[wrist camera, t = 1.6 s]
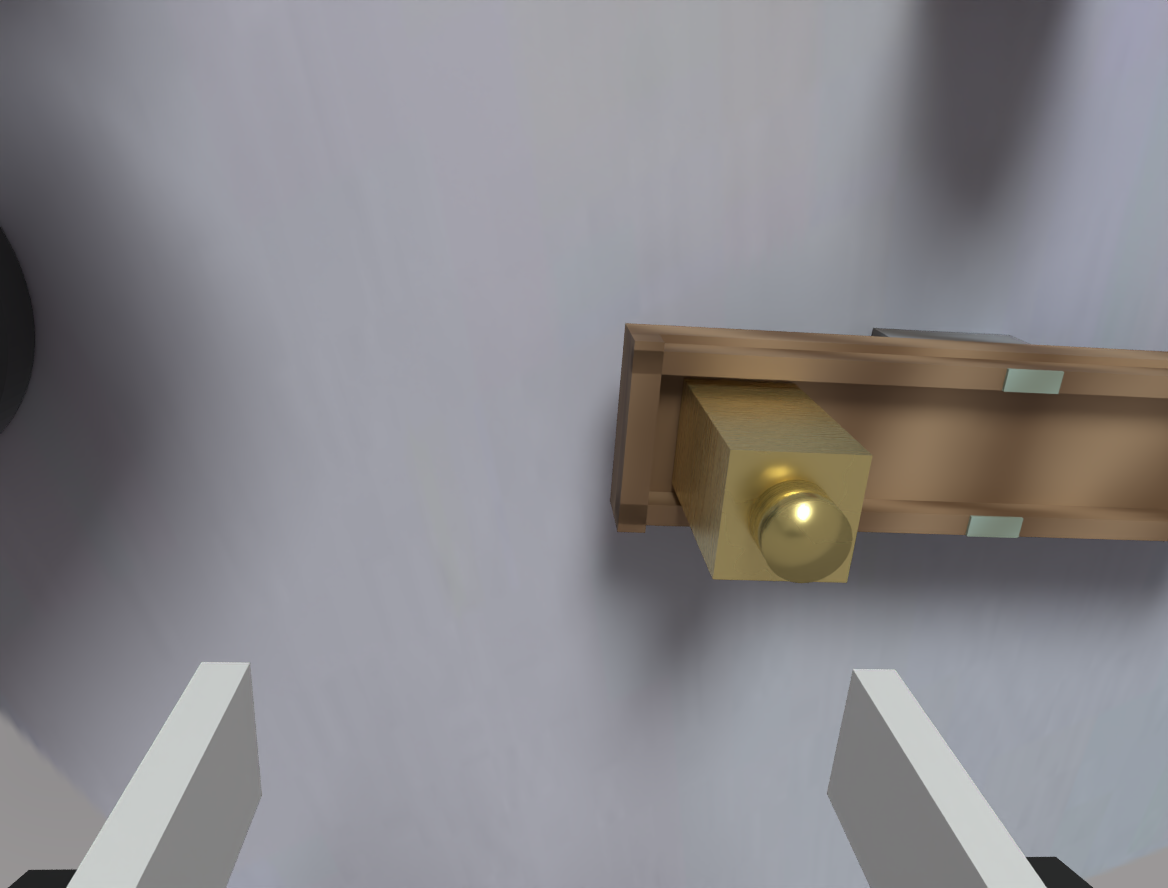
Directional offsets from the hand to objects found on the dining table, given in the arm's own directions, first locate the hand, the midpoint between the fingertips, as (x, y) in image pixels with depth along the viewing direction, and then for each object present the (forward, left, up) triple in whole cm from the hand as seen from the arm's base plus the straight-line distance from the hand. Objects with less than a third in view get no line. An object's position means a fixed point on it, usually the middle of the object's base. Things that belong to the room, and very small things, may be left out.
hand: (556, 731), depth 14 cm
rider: (+7, 0, -16) cm, 17 cm away
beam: (+17, 0, -22) cm, 28 cm away
